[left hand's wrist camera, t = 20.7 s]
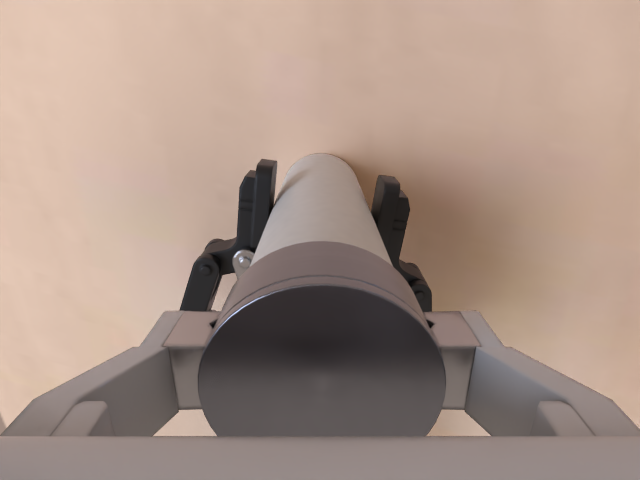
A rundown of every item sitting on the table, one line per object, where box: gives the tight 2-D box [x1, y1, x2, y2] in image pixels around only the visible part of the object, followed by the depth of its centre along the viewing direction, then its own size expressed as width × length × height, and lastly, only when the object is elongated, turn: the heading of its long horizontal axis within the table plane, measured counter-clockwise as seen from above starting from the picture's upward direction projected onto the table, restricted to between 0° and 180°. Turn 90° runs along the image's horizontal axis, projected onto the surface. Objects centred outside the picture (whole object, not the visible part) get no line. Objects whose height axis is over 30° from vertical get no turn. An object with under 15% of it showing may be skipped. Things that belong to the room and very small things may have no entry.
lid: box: [198, 241, 446, 436], centre depth 9 cm, size 5×5×2 cm
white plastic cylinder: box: [250, 153, 393, 266], centre depth 17 cm, size 5×5×17 cm
